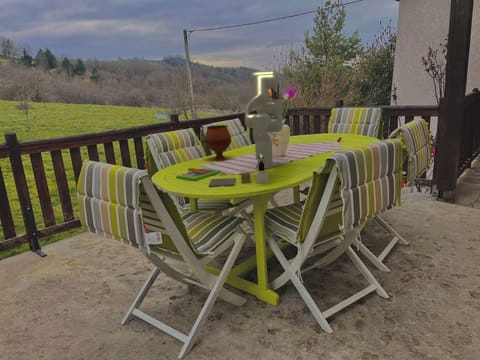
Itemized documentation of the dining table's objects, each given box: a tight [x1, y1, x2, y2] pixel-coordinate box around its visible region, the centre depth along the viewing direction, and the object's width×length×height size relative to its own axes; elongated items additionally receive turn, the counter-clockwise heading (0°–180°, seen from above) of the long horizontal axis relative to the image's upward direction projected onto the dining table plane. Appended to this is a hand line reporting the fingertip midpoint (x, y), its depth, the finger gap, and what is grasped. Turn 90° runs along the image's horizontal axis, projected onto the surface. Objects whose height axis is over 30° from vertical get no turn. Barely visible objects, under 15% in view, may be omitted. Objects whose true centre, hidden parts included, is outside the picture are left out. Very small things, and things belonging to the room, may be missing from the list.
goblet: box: [204, 124, 232, 162], centre depth 272 cm, size 19×19×25 cm
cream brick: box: [255, 171, 270, 184], centre depth 205 cm, size 5×7×5 cm
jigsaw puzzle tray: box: [175, 167, 222, 182], centre depth 231 cm, size 23×2×25 cm
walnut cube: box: [240, 171, 252, 184], centre depth 205 cm, size 5×5×5 cm
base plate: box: [208, 177, 237, 188], centre depth 206 cm, size 14×14×1 cm
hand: (261, 169), depth 203 cm, fingers open, 9 cm apart
